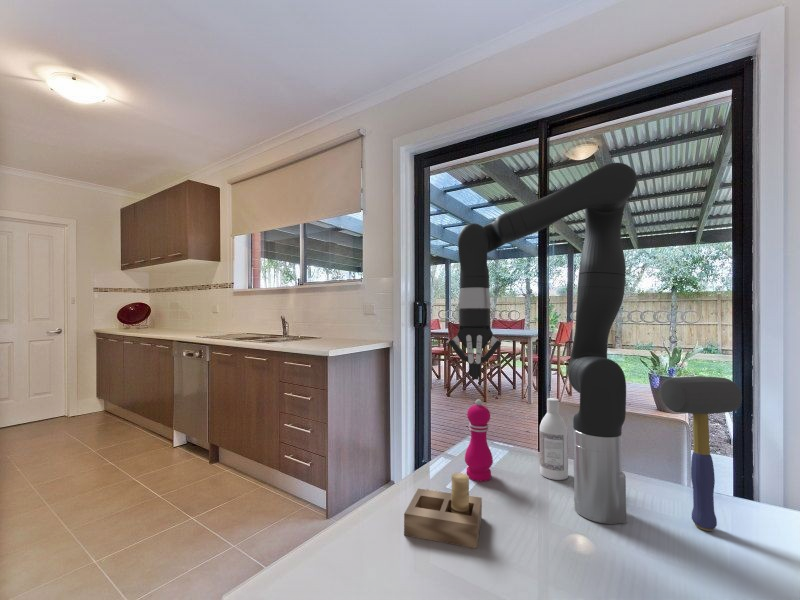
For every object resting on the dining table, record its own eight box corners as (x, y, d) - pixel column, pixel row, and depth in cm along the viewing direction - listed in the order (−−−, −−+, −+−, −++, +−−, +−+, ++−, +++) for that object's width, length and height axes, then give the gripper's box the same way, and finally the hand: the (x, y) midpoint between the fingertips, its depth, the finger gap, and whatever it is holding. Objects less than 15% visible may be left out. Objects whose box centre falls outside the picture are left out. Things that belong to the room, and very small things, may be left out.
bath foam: (549, 468, 103) (548, 395, 104) (573, 476, 98) (572, 399, 99) (534, 474, 99) (533, 398, 100) (559, 483, 94) (558, 403, 95)
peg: (470, 525, 74) (470, 474, 75) (468, 535, 71) (468, 481, 71) (452, 522, 75) (452, 471, 76) (449, 531, 72) (450, 478, 72)
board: (481, 517, 77) (481, 497, 77) (476, 548, 67) (476, 525, 67) (418, 507, 81) (418, 488, 81) (404, 535, 70) (404, 513, 71)
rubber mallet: (715, 517, 78) (710, 373, 80) (752, 538, 71) (746, 379, 72) (660, 519, 77) (656, 373, 79) (691, 540, 70) (686, 379, 71)
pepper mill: (495, 482, 94) (495, 402, 95) (467, 482, 94) (467, 402, 95) (489, 471, 101) (489, 396, 102) (462, 470, 101) (462, 396, 102)
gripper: (502, 307, 92) (503, 378, 91) (449, 307, 96) (450, 375, 95) (502, 306, 85) (503, 383, 84) (445, 306, 89) (445, 380, 88)
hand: (475, 378), depth 90 cm, fingers closed
